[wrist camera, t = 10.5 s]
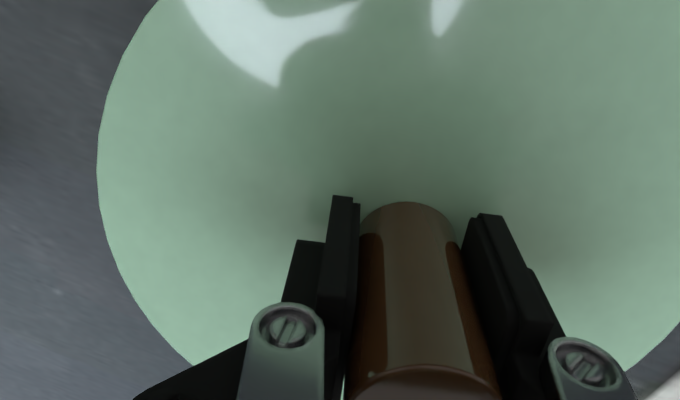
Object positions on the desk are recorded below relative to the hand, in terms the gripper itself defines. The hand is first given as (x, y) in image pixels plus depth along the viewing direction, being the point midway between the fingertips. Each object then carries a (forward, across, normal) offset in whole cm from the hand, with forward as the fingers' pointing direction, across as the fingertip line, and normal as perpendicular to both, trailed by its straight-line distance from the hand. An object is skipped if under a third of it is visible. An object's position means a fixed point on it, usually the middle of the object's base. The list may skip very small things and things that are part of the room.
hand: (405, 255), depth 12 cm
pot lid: (+1, 0, 0) cm, 1 cm away
